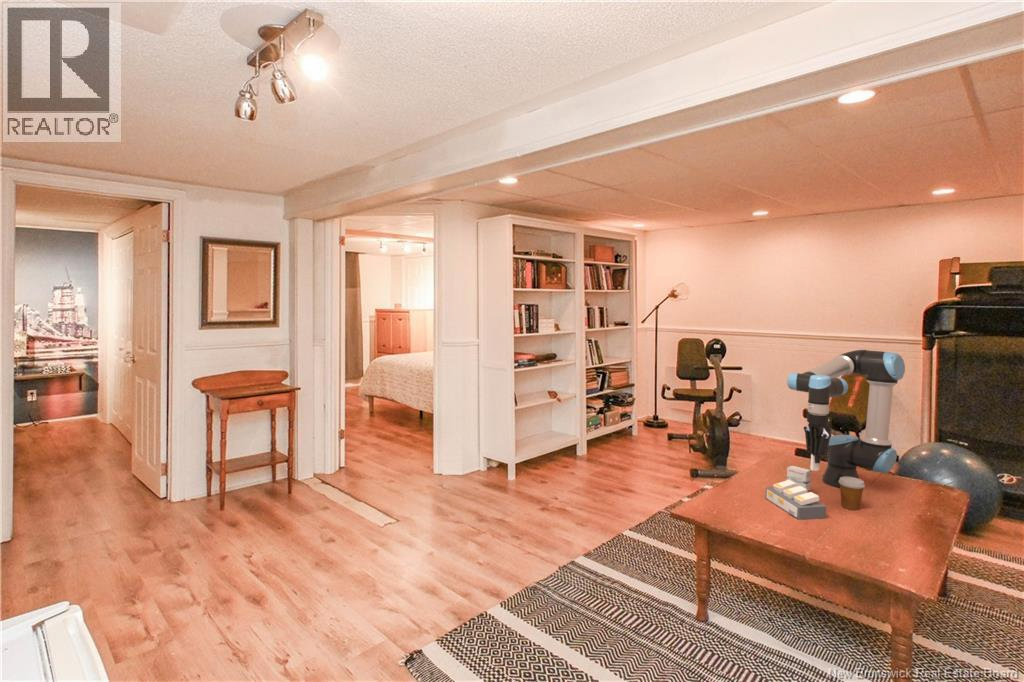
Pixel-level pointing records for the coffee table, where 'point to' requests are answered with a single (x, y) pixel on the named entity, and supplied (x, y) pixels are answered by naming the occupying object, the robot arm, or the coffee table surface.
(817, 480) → the coffee table surface
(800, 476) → the ink box
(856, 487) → the disposable coffee cup
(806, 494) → the block
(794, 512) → the switch unit
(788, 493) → the rocker
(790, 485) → the rocker
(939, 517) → the coffee table surface
